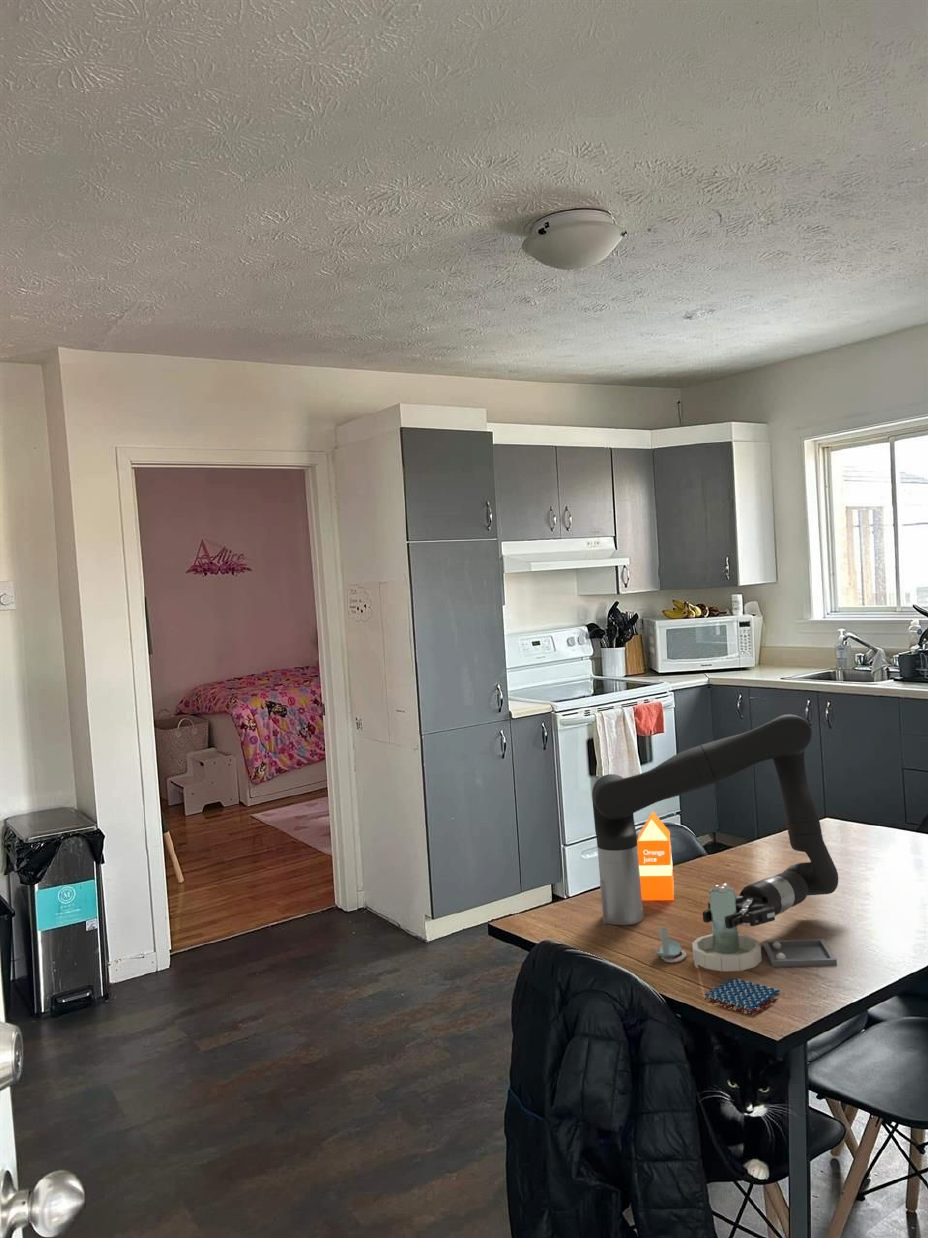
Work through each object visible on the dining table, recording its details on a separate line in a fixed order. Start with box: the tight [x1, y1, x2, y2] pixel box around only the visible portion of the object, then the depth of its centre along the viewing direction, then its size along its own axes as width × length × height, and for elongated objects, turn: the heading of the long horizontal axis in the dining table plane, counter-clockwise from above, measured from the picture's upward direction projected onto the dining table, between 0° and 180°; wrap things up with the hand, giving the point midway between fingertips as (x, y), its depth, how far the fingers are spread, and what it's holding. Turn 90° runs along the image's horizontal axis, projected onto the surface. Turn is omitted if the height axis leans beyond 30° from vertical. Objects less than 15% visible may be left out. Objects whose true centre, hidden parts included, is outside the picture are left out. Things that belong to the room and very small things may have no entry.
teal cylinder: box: [708, 883, 740, 954], centre depth 192 cm, size 5×5×13 cm
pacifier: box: [652, 926, 687, 964], centre depth 197 cm, size 7×6×6 cm
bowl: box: [691, 933, 762, 972], centre depth 193 cm, size 13×13×4 cm
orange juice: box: [637, 810, 675, 901], centre depth 238 cm, size 8×9×20 cm
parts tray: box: [762, 938, 838, 968], centre depth 191 cm, size 12×11×3 cm
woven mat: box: [704, 977, 781, 1016], centre depth 175 cm, size 10×11×2 cm
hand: (715, 920), depth 191 cm, fingers closed on teal cylinder, 5 cm apart
